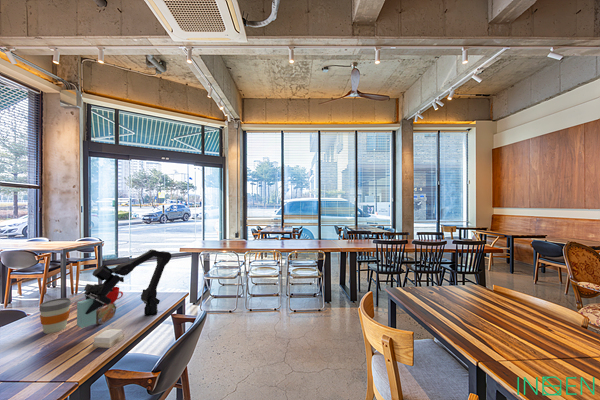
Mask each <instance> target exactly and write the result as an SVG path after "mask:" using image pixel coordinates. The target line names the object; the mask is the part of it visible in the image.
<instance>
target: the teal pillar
mask: <svg viewBox="0 0 600 400" xmlns="http://www.w3.org/2000/svg"><path fill="white" fill-rule="evenodd" d="M76 303H77V304H76V308H77V309H76V326H77V327H79V328H80V329H84V328H88V327H90V326H93V325H97V324H96V311H97V309H96V310H94V311H92V312H91V313H89V314H85V313H86V311H87V310H88V309H89V307H90V306H91V305H92V304H93V299H92V298H90V299H87V300H86V299H83V300H80V301H77V302H76Z"/></svg>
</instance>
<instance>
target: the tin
mask: <svg viewBox="0 0 600 400" xmlns="http://www.w3.org/2000/svg"><path fill="white" fill-rule="evenodd" d="M116 312H117V306H116V304H115V303H113V304H109V305H106V306H102V307H100V308H98V309H96V324H95V325H103V324H105V323H106V322H108V321H109V320H110V319H112V318H114V316H115V315H116Z"/></svg>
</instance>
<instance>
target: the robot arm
mask: <svg viewBox="0 0 600 400" xmlns="http://www.w3.org/2000/svg"><path fill="white" fill-rule="evenodd" d="M152 258H156V266H155V269H154V271H153V275H152V276H151V279H150V282H149V284H148V286H147V288H146V289H143V290H142V292H141V295H140V301H142V302H143V304H145V306H144V317H148V316H149V317H150V316H155V315H157V314H158V311H159V310H158V305H159V304H160V302H161V300H160V299H158V297H157V295H158V294H157V293H158V291H157V289H158V286H159V283H160V281H161V278H162V274H163V272H164V270H165V267H166V266H167V264H169V262H170V260H171V258H172V254H171V252H169V251H164V250H163V251H162V250H161V251H159V250H156V249H149V250H148V251H146V252H144V253H142V254H140V255H139V256H137V257H134V258H133V259H131V260H130V261H126V262H121V263H120V264H118V265H116V266H115V267H112V268H110V267H108V266H107V265H106V264H102V265H101V266H99V267H97V268H95V270H94V271H93V272H92V276H94V277H95V278H97V279H98V280H100V281H101V282H103V283H99V284H96V283H95V284H90V283H86V285H85V286H84V289H83V291H84V292H83V294H84V297H85V300H87V299H90V298H92V299H93V304H92V305H91V306H90V307H89V309H88V310H87V311H86V313H85V314H89V313H91V312H92V311H94V310H96V311H97V310H99V309H101V308H102V307H104V305H105V304H107V305H109V304H110V303H111V299H109V298H108V297H106V296H107V294H108V293H109V292H110V291H111V292H112V291H113V290H112V289H113V288H114V287H116V285H117V284H118V283H119V282H121V283H124V282H125V281H124V277H125V276H127V275H129V274H130V273H132V271H134V269H135V268H136V267H138V266H139V265H141V264H143V263H145V262H148V260H151V259H152Z"/></svg>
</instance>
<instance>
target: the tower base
mask: <svg viewBox="0 0 600 400" xmlns="http://www.w3.org/2000/svg"><path fill="white" fill-rule="evenodd" d="M123 339H125V333H122V335H121V336H120V337H118V338H117V339H115V340H114V341H112V342H111V343H94V342H92V347H93V348H106V349H107V348H108V349H110V348H112V347H113V346H115V345H117V344H118V343H120V342H121V341H123Z"/></svg>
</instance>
